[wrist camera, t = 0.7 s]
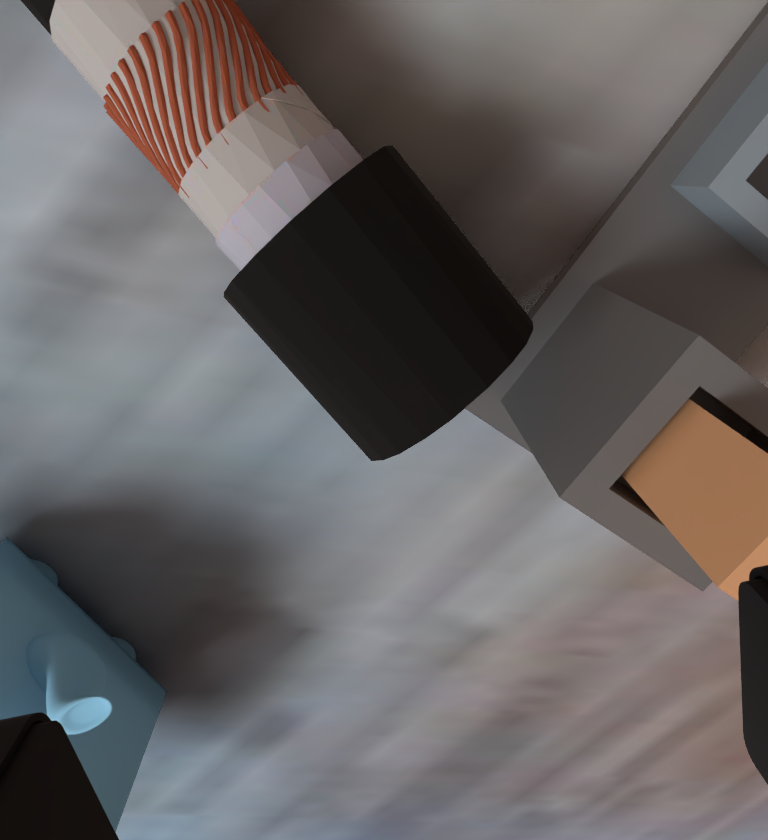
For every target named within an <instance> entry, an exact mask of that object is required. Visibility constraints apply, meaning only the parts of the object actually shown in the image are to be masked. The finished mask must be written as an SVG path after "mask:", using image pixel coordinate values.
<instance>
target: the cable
mask: <svg viewBox="0 0 768 840" xmlns="http://www.w3.org/2000/svg"><path fill="white" fill-rule="evenodd" d="M21 1H22V2H23V3H24V4H25V6H26V7H27V8H28V9H29V10H30V11H31V13H32V14H33V15H34V16H35V17H36V18H37V19H38V21H39V22H40V23H41V24H42V25H43V26H44V28H45V29H46V30H47V31H48V32H49V33H50V34H51V36H52V41H53V42H54V43H55V44H56V46H57V47H58V48H59V49H60V50H61V51H62V53H63V54H64V55H65V56H66V57H67V58H68V59H69V61H70V62H71V63H72V64H73V65H74V66H75V68H76V69H77V70H78V71H79V72H80V73H81V75H82V76H83V77H84V78H85V79H86V80H87V82H88V83H89V84H90V85H91V86H92V87H93V89H94V90H95V91H96V92H97V93H98V94H99V96H100V97H101V98H102V99H103V100H104V101H105V102H106V103H105V105H104V108H105V109H106V110H107V114H108V115H109V116H110V117H111V118H112V119H113V120H114V121H115V123H116V124H117V125H118V126H119V127H120V128H121V129H122V130H123V132H124V133H125V134H126V135H127V136H128V137H129V138H130V140H131V141H132V142H133V143H134V144H135V146H136V147H137V148H138V149H139V150H140V151H141V152H142V153H143V154H144V155H145V157H146V158H147V159H148V160H149V161H150V162H151V163H152V164H153V165H154V167H155V168H156V169H157V170H158V171H159V172H160V174H161V175H162V176H163V177H164V178H165V179H166V180H167V181H168V182H169V184H170V185H171V186H172V187H173V188H174V190H175V191H176V192H177V193H178V195H179V196H180V197H181V198H182V199H183V200H184V202H185V203H186V204H187V205H188V206H189V207H190V209H191V210H192V211H193V212H194V213H195V214H196V216H197V217H198V218H199V219H200V220H201V221H202V223H203V224H204V225H205V226H206V227H207V228H208V230H209V231H210V232H211V233H212V234H213V235H214V237H215V238H216V245H217V246H218V247H219V248H220V249H221V250H222V251H223V252H224V253H225V255H226V256H227V257H228V258H229V259H230V260H231V261H232V262H233V263H234V264H235V265H236V266H237V268H238V269H239V270H240V272H239V273H238V274H237V276H236V277H235V278H234V279H233V280H232V281H231V283H230V284H229V286H228V287H227V289H226V290H225V292H224V298H225V299H226V300H227V301H228V302H229V303H230V304H231V305H232V307H233V308H234V309H235V310H236V311H237V312H238V313H239V314H240V315H241V317H242V318H243V319H244V320H245V321H246V322H247V323H248V324H249V325H250V327H251V328H252V329H253V330H254V331H255V332H256V333H257V334H258V335H259V336H260V338H261V339H262V340H263V341H264V342H265V343H266V344H267V345H268V346H269V348H270V349H271V350H272V351H273V352H274V353H275V354H276V355H277V356H278V358H279V359H280V360H281V361H282V362H283V363H284V364H285V365H286V366H287V368H288V369H289V370H290V371H291V372H292V373H293V374H294V375H295V376H296V378H297V379H298V380H299V381H300V382H301V383H302V384H303V385H304V386H305V388H306V389H307V390H308V391H309V392H310V393H311V394H312V395H313V396H314V398H315V399H316V400H317V401H318V402H319V403H320V404H321V405H322V406H323V408H324V409H325V410H326V411H327V412H328V413H329V414H330V415H331V416H332V418H333V419H334V420H335V421H336V422H337V423H338V424H339V425H340V426H341V428H342V429H343V430H344V431H345V432H346V433H347V434H348V435H349V436H350V438H351V439H352V440H353V441H354V442H355V443H356V444H357V445H358V446H359V448H360V449H361V450H362V451H363V452H364V453H365V454H366V455H367V456H368V458H369V459H370V460H371V461H376V460H385V459H387V458H390V457H392V456H395V455H397V454H400V453H402V452H403V451H405V450H407V449H408V448H410V447H412V446H413V445H415V444H417V443H418V442H420V441H422V440H423V439H425V438H426V437H428V436H429V435H431V434H432V433H433V432H435V431H436V430H438V429H439V428H440V427H442V426H443V425H445V424H446V423H447V422H449V421H450V420H452V419H453V418H454V417H455V416H456V415H457V414H459V413H460V412H461V411H462V410H463V409H464V408H466V407H467V406H468V405H469V404H470V403H471V402H473V401H474V400H475V399H476V398H477V397H478V396H479V395H481V394H482V393H483V392H484V391H485V390H486V389H488V388H489V387H490V386H491V385H492V383H493V382H494V381H495V380H496V379H497V378H498V377H499V376H500V375H501V374H502V373H503V372H504V371H505V370H506V369H507V368H508V367H509V366H510V365H511V364H512V362H513V361H514V360H515V358H516V357H517V356H518V355H519V353H520V352H521V351H522V350H523V348H524V347H525V346H526V344H527V342H528V340H529V338H530V336H531V334H532V332H533V321H532V320H531V319H530V318H529V316H528V315H527V314H526V312H525V311H524V310H523V309H522V307H521V306H520V305H519V304H518V302H517V301H516V300H515V299H514V297H513V296H512V295H511V294H510V292H509V291H508V290H507V289H506V287H505V286H504V285H503V284H502V282H501V281H500V280H499V279H498V277H497V276H496V275H495V274H494V272H493V271H492V270H491V269H490V267H489V266H488V265H487V264H486V262H485V261H484V260H483V258H482V257H481V256H480V255H479V253H478V252H477V251H476V250H475V248H474V247H473V246H472V245H471V243H470V242H469V241H468V240H467V238H466V237H465V236H464V235H463V233H462V232H461V231H460V230H459V228H458V227H457V226H456V225H455V223H454V222H453V221H452V220H451V218H450V217H449V216H448V215H447V213H446V212H445V211H444V210H443V208H442V207H441V206H440V204H439V203H438V202H437V201H436V199H435V198H434V197H433V196H432V194H431V193H430V192H429V191H428V189H427V188H426V187H425V186H424V184H423V183H422V182H421V181H420V179H419V178H418V177H417V176H416V174H415V173H414V172H413V171H412V169H411V168H410V167H409V166H408V164H407V163H406V162H405V161H404V159H403V158H402V157H401V156H400V154H399V153H398V152H397V150H396V149H395V148H394V147H393V146H384V147H383V148H381V149H380V150H378V151H377V152H375V153H373V154H372V155H370V156H369V157H367V158H366V159H364V160H363V158H362V157H361V156H360V155H359V154H358V152H357V151H356V150H355V149H354V148H353V146H352V145H351V144H350V143H349V142H348V140H347V139H346V138H345V137H344V136H343V134H342V133H341V132H340V131H339V130H338V129H335V128H334V127H333V125H332V124H331V123H330V122H329V121H328V120H327V119H326V117H325V116H324V115H323V114H322V113H321V112H320V111H319V110H318V109H317V108H316V106H315V105H314V104H313V102H312V101H311V100H310V99H309V97H308V96H307V95H306V94H305V92H304V91H303V90H302V89H301V87H300V86H299V85H297V84H296V83H295V82H294V81H293V80H292V78H291V77H290V76H289V75H288V74H287V72H286V71H285V70H284V68H283V67H282V66H281V64H280V63H279V62H278V61H277V60H276V59H275V58H274V56H273V55H272V54H271V53H270V51H269V50H268V48H267V47H266V45H265V44H264V42H263V41H262V39H261V38H260V36H259V35H258V33H257V32H256V30H255V28H254V27H253V26H252V24H251V23H250V22H249V20H248V19H247V18H246V16H245V15H244V14H243V12H242V11H241V10H240V8H239V7H238V6H237V4H236V3H235V2H234V0H21Z"/></svg>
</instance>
